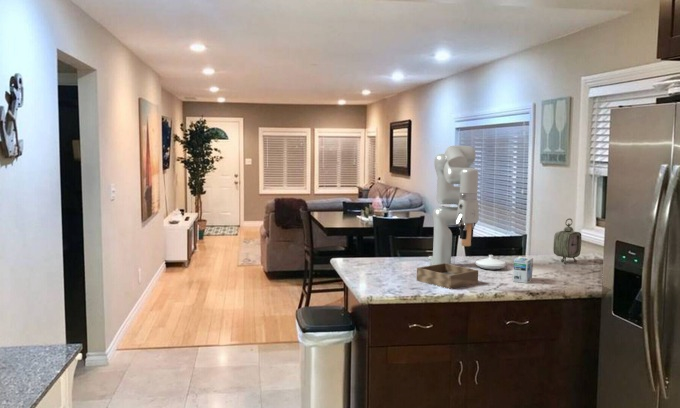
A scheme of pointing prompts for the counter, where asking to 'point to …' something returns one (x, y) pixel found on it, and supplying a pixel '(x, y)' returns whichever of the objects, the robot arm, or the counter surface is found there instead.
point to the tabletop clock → (567, 243)
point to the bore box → (447, 275)
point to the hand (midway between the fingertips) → (466, 238)
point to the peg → (468, 238)
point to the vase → (490, 263)
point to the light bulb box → (523, 269)
